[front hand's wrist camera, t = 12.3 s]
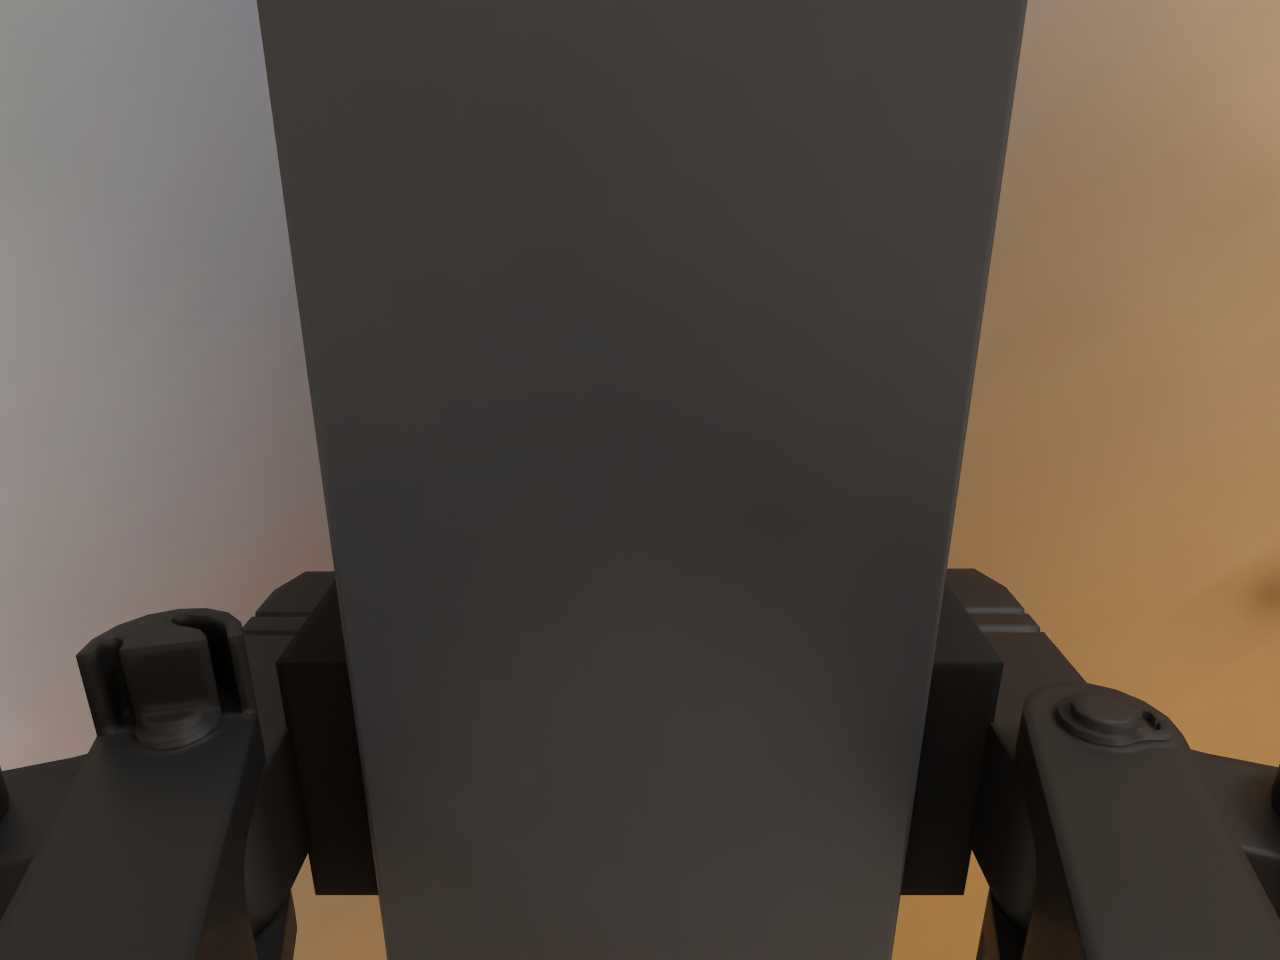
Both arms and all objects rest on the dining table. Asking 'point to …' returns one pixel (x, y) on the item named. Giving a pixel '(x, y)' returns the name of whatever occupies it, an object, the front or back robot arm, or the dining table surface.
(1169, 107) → the dining table surface
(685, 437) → the post
